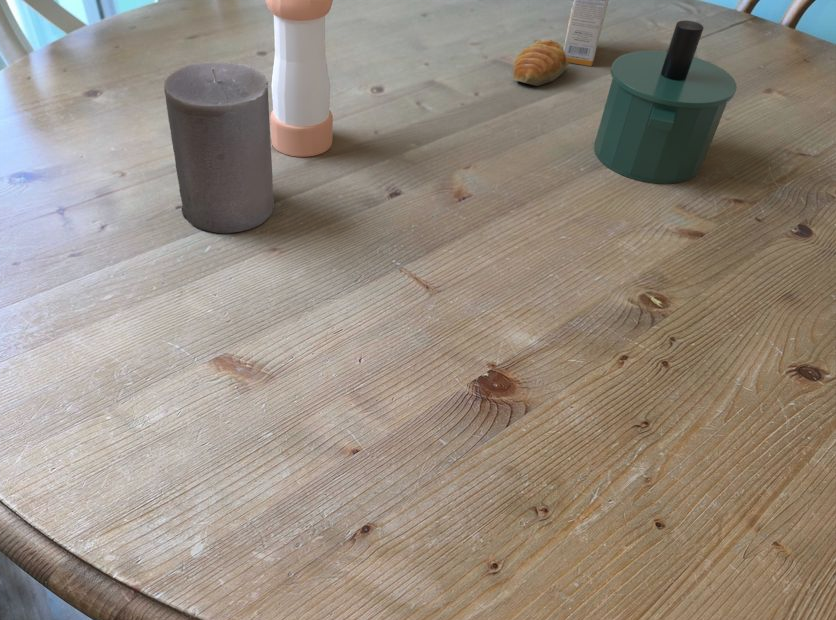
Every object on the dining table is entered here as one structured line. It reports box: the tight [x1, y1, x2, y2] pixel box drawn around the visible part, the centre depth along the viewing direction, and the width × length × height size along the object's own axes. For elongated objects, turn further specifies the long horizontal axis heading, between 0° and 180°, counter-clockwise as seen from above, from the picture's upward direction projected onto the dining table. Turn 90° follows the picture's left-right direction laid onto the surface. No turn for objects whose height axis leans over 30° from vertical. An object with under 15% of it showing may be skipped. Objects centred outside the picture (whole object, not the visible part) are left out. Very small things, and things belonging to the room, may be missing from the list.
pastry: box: [512, 39, 569, 87], centre depth 105 cm, size 9×7×4 cm
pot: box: [593, 78, 728, 185], centre depth 88 cm, size 13×18×10 cm
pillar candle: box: [163, 61, 275, 234], centre depth 74 cm, size 10×10×15 cm
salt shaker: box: [265, 0, 334, 158], centre depth 83 cm, size 7×7×19 cm
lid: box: [610, 20, 737, 108], centre depth 82 cm, size 14×14×7 cm
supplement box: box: [563, 0, 610, 67], centre depth 108 cm, size 8×5×13 cm, turn 163°
